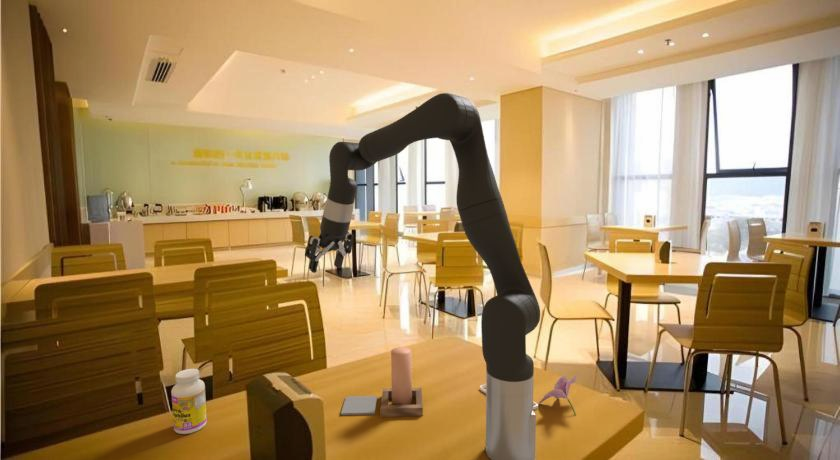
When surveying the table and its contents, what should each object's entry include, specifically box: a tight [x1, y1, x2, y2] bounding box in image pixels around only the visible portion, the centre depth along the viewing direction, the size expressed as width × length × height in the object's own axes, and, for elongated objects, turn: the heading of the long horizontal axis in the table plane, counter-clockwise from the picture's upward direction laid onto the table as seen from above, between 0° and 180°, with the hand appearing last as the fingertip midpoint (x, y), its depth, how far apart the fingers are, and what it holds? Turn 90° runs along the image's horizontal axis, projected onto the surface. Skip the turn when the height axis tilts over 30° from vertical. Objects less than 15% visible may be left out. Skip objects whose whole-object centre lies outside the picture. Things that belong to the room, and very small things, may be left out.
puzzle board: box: [379, 387, 424, 418], centre depth 104 cm, size 10×10×2 cm
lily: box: [537, 373, 581, 416], centre depth 102 cm, size 12×12×10 cm
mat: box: [340, 395, 378, 416], centre depth 104 cm, size 8×8×1 cm
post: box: [390, 346, 413, 405], centre depth 103 cm, size 5×5×14 cm
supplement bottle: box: [170, 368, 208, 435], centre depth 95 cm, size 7×7×13 cm
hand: (325, 269), depth 117 cm, fingers open, 8 cm apart
